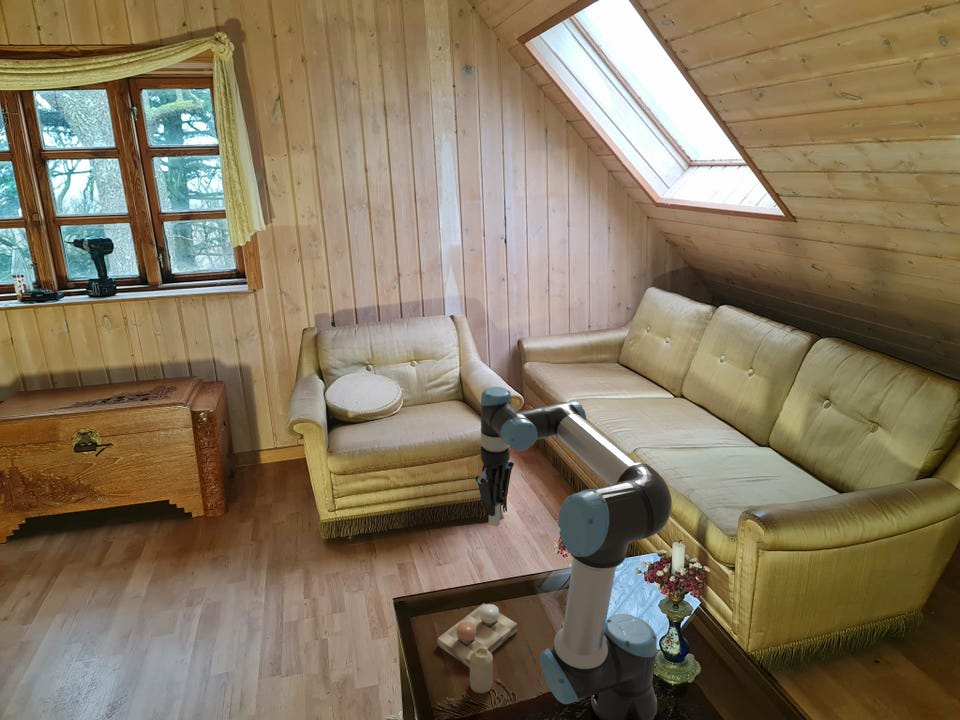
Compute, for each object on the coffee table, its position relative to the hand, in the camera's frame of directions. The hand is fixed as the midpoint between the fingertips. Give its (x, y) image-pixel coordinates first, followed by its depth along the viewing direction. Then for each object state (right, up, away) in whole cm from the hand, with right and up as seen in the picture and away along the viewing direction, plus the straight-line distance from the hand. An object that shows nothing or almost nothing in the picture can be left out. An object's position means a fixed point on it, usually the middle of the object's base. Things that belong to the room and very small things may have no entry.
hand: (494, 523), depth 191 cm
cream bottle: (-4, -35, -17) cm, 40 cm away
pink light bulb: (-7, -29, -7) cm, 31 cm away
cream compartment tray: (-4, -30, -3) cm, 30 cm away
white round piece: (-1, -27, 0) cm, 27 cm away
